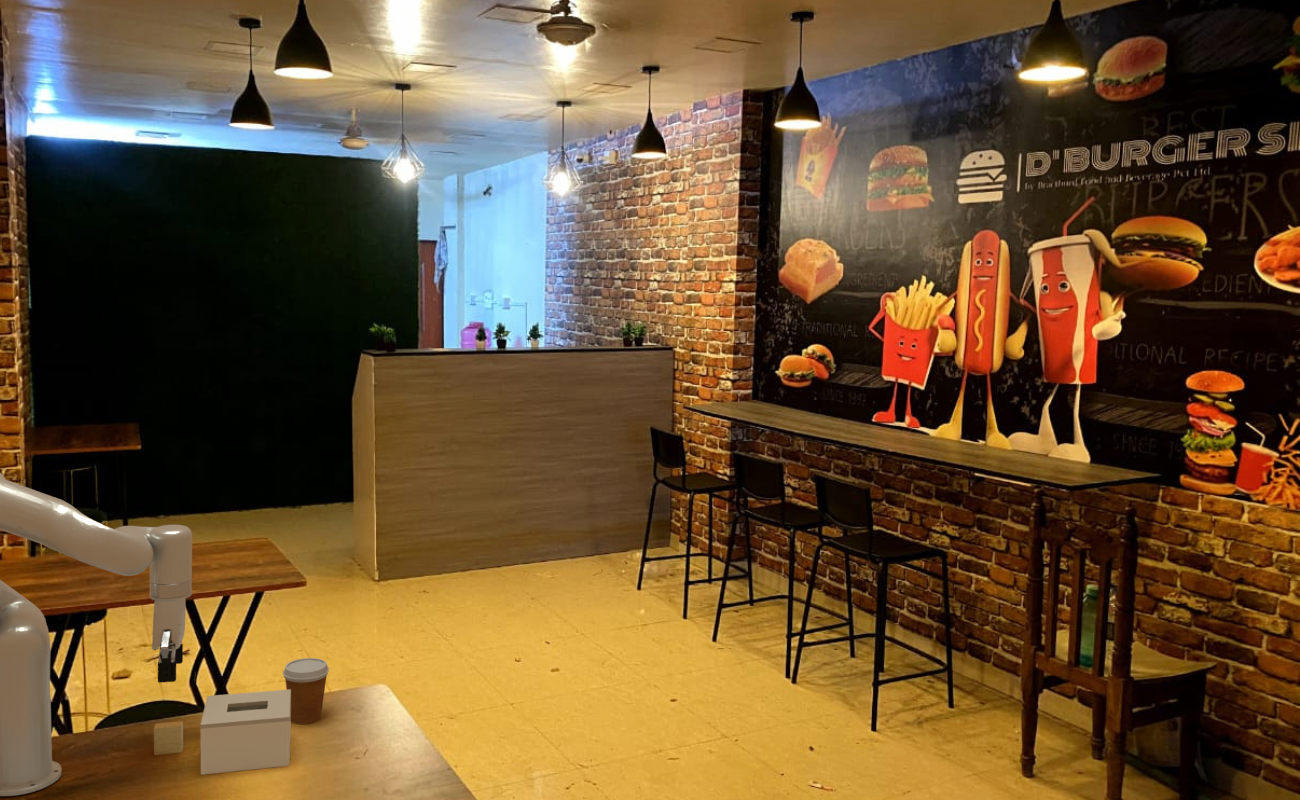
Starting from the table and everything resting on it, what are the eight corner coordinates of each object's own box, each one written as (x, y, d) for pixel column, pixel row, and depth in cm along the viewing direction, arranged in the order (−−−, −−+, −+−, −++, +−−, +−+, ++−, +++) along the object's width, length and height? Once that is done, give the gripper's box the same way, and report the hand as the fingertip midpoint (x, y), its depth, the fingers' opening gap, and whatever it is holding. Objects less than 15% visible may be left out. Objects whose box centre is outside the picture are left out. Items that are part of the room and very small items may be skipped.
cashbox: (200, 774, 196) (200, 724, 194) (207, 742, 209) (207, 695, 208) (289, 765, 201) (289, 717, 199) (290, 735, 214) (290, 689, 213)
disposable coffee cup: (314, 730, 217) (314, 675, 215) (273, 724, 219) (273, 670, 217) (336, 712, 226) (337, 660, 225) (297, 707, 228) (297, 655, 226)
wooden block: (154, 755, 203) (153, 728, 202) (155, 749, 205) (155, 723, 204) (181, 752, 204) (181, 726, 204) (183, 747, 207) (182, 721, 206)
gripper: (156, 576, 208) (156, 658, 210) (142, 602, 192) (142, 690, 193) (196, 575, 210) (196, 655, 212) (186, 600, 194) (185, 687, 196)
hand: (170, 672), depth 203 cm, fingers open, 9 cm apart
